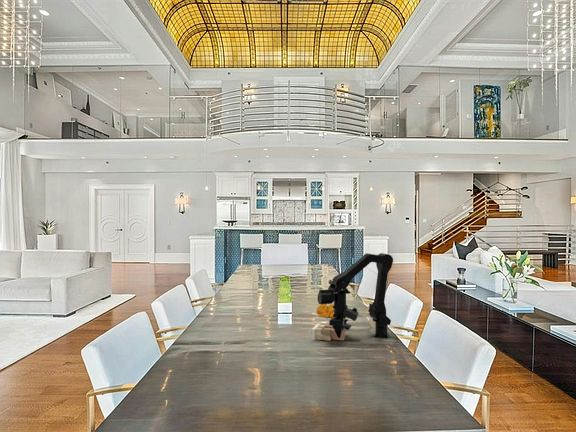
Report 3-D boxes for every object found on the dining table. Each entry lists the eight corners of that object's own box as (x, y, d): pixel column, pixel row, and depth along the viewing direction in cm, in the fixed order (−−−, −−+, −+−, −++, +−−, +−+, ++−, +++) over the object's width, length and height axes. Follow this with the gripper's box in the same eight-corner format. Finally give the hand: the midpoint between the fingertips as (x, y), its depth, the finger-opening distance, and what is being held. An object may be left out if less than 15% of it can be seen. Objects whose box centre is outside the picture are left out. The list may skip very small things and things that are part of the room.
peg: (343, 340, 192) (343, 331, 192) (322, 338, 195) (322, 329, 195) (344, 337, 195) (344, 329, 195) (324, 335, 199) (324, 327, 199)
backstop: (317, 334, 203) (317, 323, 203) (320, 334, 202) (320, 324, 202) (311, 339, 194) (311, 329, 194) (315, 340, 193) (315, 329, 193)
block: (320, 334, 202) (320, 324, 202) (334, 335, 200) (334, 325, 200) (315, 339, 193) (315, 329, 193) (330, 340, 191) (330, 330, 191)
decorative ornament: (317, 311, 233) (316, 300, 263) (317, 319, 233) (316, 307, 263) (351, 311, 232) (346, 300, 262) (351, 320, 232) (346, 308, 262)
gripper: (353, 308, 183) (353, 344, 183) (360, 300, 200) (360, 332, 200) (328, 306, 186) (328, 341, 186) (337, 299, 204) (337, 330, 204)
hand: (340, 336), depth 194 cm, fingers closed on peg, 4 cm apart
